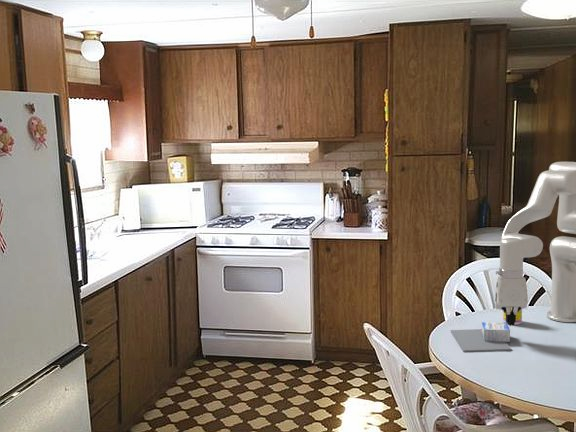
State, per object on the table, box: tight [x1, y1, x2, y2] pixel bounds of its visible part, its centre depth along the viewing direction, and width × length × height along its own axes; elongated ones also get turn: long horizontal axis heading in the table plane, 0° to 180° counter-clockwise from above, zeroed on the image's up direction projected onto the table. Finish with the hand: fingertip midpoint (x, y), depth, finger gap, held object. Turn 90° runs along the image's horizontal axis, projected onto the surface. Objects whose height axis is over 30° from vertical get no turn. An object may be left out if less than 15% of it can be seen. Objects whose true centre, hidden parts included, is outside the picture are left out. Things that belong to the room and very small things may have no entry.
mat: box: [450, 328, 512, 353], centre depth 217 cm, size 20×16×1 cm
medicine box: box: [481, 321, 511, 343], centre depth 217 cm, size 8×4×9 cm
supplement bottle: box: [502, 307, 523, 326], centre depth 232 cm, size 7×7×13 cm
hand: (510, 324), depth 215 cm, fingers closed
